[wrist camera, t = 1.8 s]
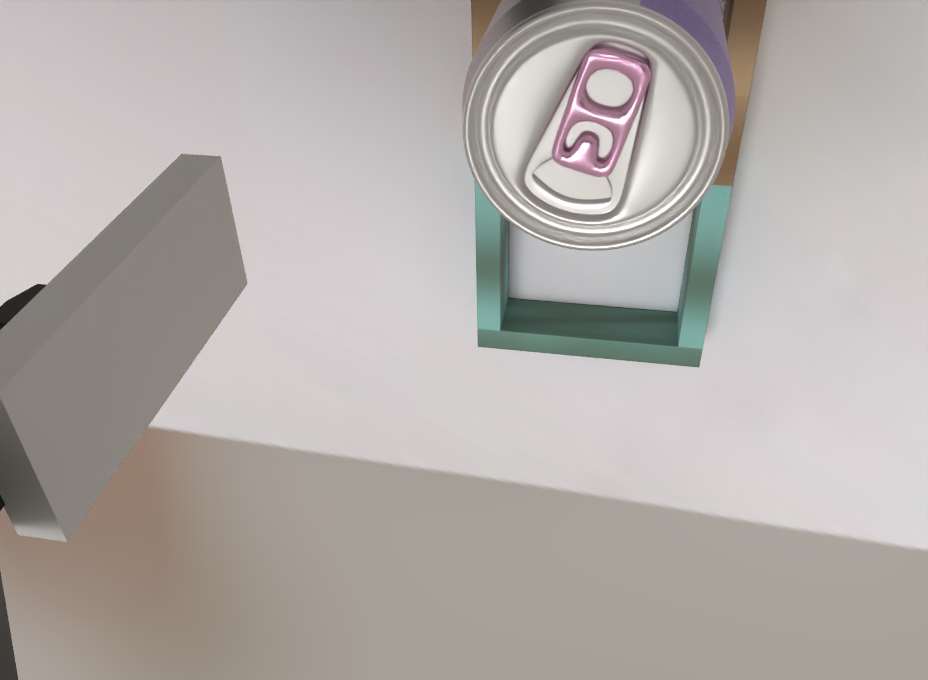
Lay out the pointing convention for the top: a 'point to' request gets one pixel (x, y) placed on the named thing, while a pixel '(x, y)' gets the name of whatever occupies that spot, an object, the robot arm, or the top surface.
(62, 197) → the top surface
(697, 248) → the holder board
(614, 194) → the beverage can
